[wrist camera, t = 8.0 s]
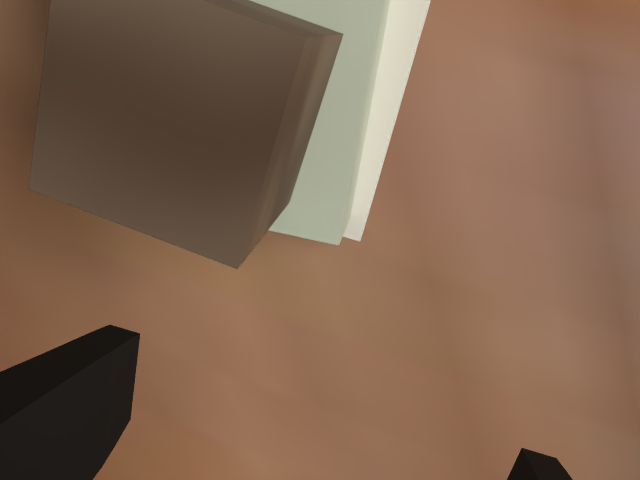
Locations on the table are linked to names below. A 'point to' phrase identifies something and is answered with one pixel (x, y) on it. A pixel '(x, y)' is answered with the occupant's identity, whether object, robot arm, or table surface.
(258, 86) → the walnut block
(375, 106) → the tower base slab
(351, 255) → the table surface
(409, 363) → the table surface
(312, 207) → the tower top slab
